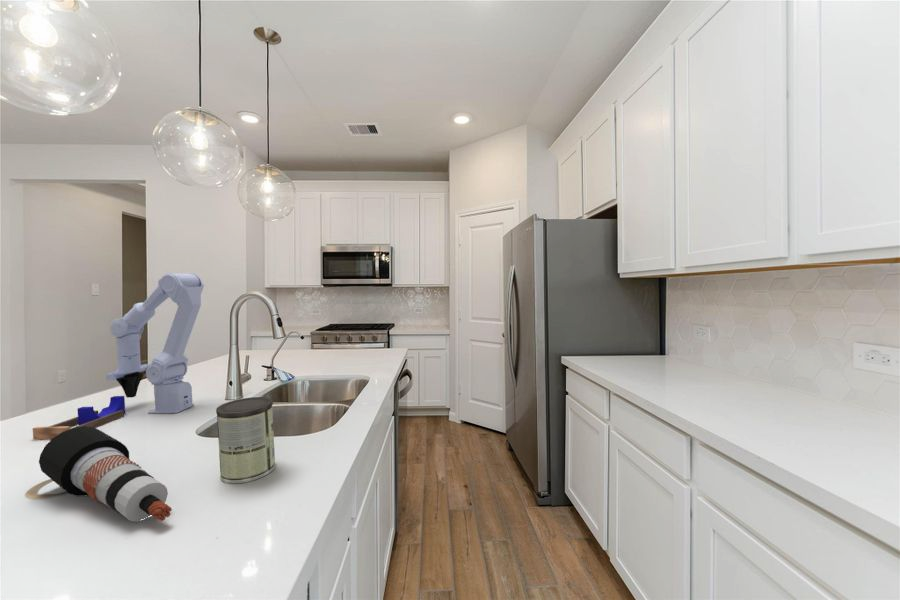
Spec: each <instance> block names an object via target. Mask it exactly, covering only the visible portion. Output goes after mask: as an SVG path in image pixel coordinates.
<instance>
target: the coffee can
mask: <svg viewBox="0 0 900 600" xmlns="http://www.w3.org/2000/svg"><path fill="white" fill-rule="evenodd" d="M273 403H274V401H273V399H272V398H269V397H265V396H257V397H256V396H255V397H254V396H253V397H252V396H251V397H245V398H239V399H234V400H231V401H227V402H225V403H223V404H221V405H219V406H217V407H216V408H215V413H216V417H217V419H216V420H217V421H216V422H217V435H218V437H217V438H218V453H219V454H218V455H219V469H220V470H219V471H220V472H219V473H220V475H219V476H220V477H219V478H220V481H221V482H223V483H226V484H232V485H233V484H235V485H236V484H243V483H244V484H245V483H249V482H252V481H256V480H258V479H261V478H264V477H266V476H267V475H269V474H271V473H272V472H273V471H274V470H275V468H276V466H277V464H276V457H275V456H276V455H275V436H274V435H275V434H274V432H275V431H274V417H273V416H274V415H273Z"/></svg>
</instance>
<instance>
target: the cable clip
mask: <svg viewBox="0 0 900 600" xmlns="http://www.w3.org/2000/svg"><path fill="white" fill-rule="evenodd" d="M109 398H110V400H109V405H108V406H107V407H106V406H105V407H103V408H102V409H101V410H100V412H98V415H96V413H95V412H94V411H95V409H94V406H81V407H77V417H78V425H77V426H79V425H82V424H85V423H87V422H90V421H93V420H95V419H98V418H101V417H103V416H106V415H109V414H112V413H114V412H117V411H120V410H124V414H125V415H126V401H125V399H126V398H125V395H114V396H110V397H109Z"/></svg>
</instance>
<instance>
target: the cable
mask: <svg viewBox="0 0 900 600" xmlns="http://www.w3.org/2000/svg"><path fill="white" fill-rule="evenodd" d="M74 427H75V428H74ZM74 427H71V428H72V429H71V428H70V429H69V430H67V431H64V432H62V433H60V434H59V435H57V436H56V437H54V438H53V439H50V441H48V443H46V444H45V445H44V447H43V449H42V450H41V453H40V455H39V459H38V464H39V467H40V471H41V472H42V473H44V474H45V476H47V477H48V478H49V479H51V480H52V481H53V482H54V483H55V484H56V485H58V486H59V487H60V488H61V489H63V490H64V491H65V492H67V493H68V494H69V495H73V496H77V497H85V495H87V496H89V497H90V498H91V499H92V500H93V501H95V500H96V501H97V502H98V503H101V504H103V505H106V506H107V507H108V508H110V509H113V510H114V511H115V512H116V513H118V514H120V515H122V516H123V517H125V518H126V519H127V520H128V521H130V522H136V523H139V522H138V521H140V520H141V519H144V518H146V517H148V516H150V515H152V517H153V518H154V519H156V520H158V521H161V522H163V521H165V520H166V518H168V517H170V516H171V511H172V507H171V506H170V505H168V504H167V503H166V502H167V498H168V495H169V494H168V493H169V491H168V488H167V487H166V485H165V484H163V483H162V482H160V481H158V480H157V479H156V478H155V477H154V476H152V474H151V475H150V474H149V473H148V472H147V471H146V470H144V469H143V468H142V467H141V466H140V465H139V464H138V463H136V462H134V461H133V460H131V459H130V451H129V449H128V447H127V446H126V445H125V444H123V443H122V442H121V441H120V440H118V439H116V438H114V437H112V436H110V435H109V434H107V433H106V432H104V431H102V430H100V429H98V428H97V427H96V428H94V427H86V426H82V427H76V426H74ZM140 522H141V521H140Z"/></svg>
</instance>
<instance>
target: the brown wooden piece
mask: <svg viewBox="0 0 900 600" xmlns="http://www.w3.org/2000/svg"><path fill="white" fill-rule="evenodd" d="M94 412H95V413H96V415H98V414H99V410H94ZM121 417H122V418H124V417H125V415H124V410H120V411H117V412H114V413H112V414H109V415H106V416H103V417H101V418H98V419H95V420H93V421H90V422H87V423H85V424H82V425H78V416H75V417H72V418H70V419H67V420H63V421H61V422H59V423H56V424H52V425H49V426H36V427H33V428H32V440H33V441H35V440H41V441H43V440H52V439H53V438H54V437H56V436H57V435H59V434H60V433H62V432H64V431H67V430H69V429H72V428H75V427H82V426H86V427H94V428H96V429H97V428H98V427H101V426H104V425H107V424H109V423H111V422H115V421H116V420H119V419H122V418H121Z"/></svg>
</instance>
